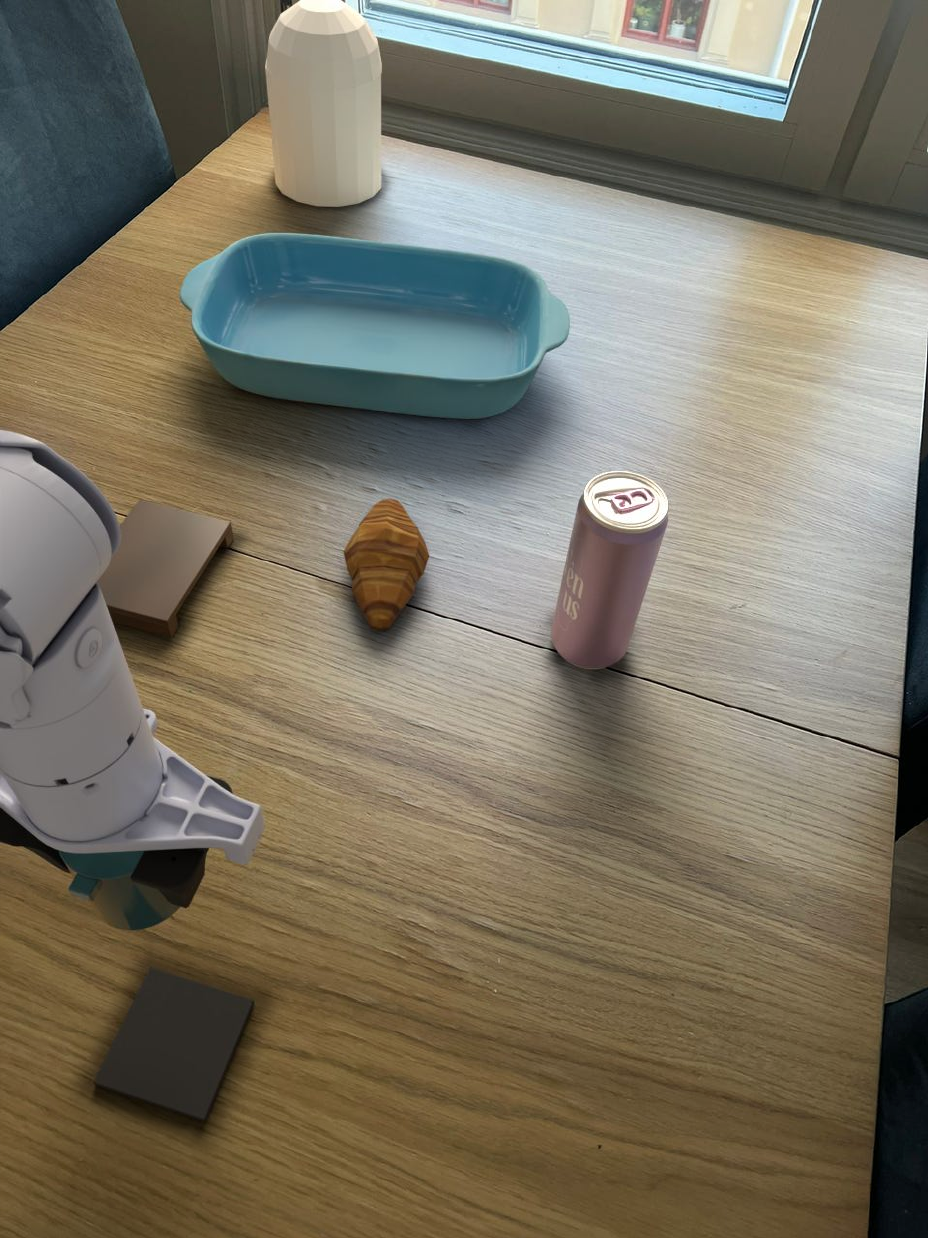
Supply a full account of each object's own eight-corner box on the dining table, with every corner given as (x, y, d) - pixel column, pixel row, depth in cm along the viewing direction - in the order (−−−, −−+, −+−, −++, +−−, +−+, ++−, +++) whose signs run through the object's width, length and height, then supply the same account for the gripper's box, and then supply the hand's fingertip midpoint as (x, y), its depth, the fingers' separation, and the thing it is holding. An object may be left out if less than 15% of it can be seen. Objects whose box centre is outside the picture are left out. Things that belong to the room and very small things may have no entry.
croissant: (425, 639, 71) (427, 596, 67) (336, 635, 71) (333, 591, 67) (431, 516, 80) (433, 471, 76) (351, 512, 79) (349, 467, 76)
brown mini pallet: (74, 612, 71) (67, 594, 69) (144, 516, 78) (139, 498, 76) (172, 638, 70) (167, 621, 68) (234, 538, 77) (230, 521, 75)
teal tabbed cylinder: (60, 928, 46) (24, 876, 41) (137, 794, 51) (112, 734, 46) (158, 958, 45) (132, 908, 41) (225, 819, 50) (209, 761, 46)
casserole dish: (561, 317, 101) (571, 255, 95) (559, 451, 86) (570, 387, 81) (222, 283, 101) (212, 219, 95) (163, 411, 86) (148, 345, 81)
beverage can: (640, 661, 71) (689, 519, 59) (570, 682, 69) (606, 540, 58) (604, 605, 74) (644, 460, 63) (537, 623, 73) (565, 478, 61)
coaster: (94, 1085, 50) (92, 1083, 50) (151, 970, 54) (150, 967, 54) (205, 1122, 49) (203, 1120, 49) (254, 1002, 53) (253, 999, 53)
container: (391, 164, 121) (392, -14, 106) (371, 213, 113) (369, 26, 97) (290, 151, 122) (276, -28, 106) (262, 199, 113) (243, 11, 98)
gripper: (279, 689, 38) (302, 841, 49) (-39, 605, 40) (49, 769, 50) (204, 841, 34) (247, 972, 44) (-150, 739, 35) (-28, 888, 46)
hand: (137, 873), depth 47 cm, fingers closed on teal tabbed cylinder, 5 cm apart
